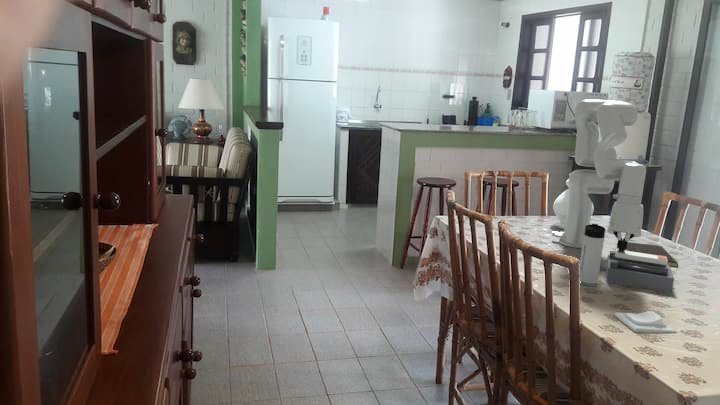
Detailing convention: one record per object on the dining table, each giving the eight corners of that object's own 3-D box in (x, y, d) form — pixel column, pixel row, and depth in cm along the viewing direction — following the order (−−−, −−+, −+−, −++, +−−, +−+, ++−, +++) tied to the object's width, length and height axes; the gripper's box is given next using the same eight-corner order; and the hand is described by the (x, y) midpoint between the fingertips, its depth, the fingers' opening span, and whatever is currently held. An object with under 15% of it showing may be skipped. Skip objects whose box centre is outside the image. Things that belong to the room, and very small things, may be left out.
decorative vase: (547, 220, 279) (554, 170, 274) (585, 224, 277) (593, 173, 271) (554, 230, 262) (561, 176, 256) (595, 233, 260) (603, 179, 254)
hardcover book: (632, 262, 221) (633, 257, 221) (620, 246, 243) (621, 241, 242) (677, 268, 218) (678, 262, 217) (661, 251, 239) (662, 245, 239)
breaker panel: (606, 281, 196) (609, 262, 195) (605, 268, 211) (608, 250, 209) (671, 292, 189) (675, 272, 187) (666, 278, 203) (669, 259, 202)
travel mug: (596, 281, 196) (605, 224, 191) (597, 287, 190) (606, 229, 185) (577, 278, 198) (585, 222, 193) (577, 284, 192) (586, 226, 187)
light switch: (680, 323, 157) (637, 320, 156) (677, 337, 158) (633, 334, 157) (657, 307, 168) (616, 304, 166) (653, 320, 169) (613, 317, 167)
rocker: (615, 257, 199) (616, 252, 198) (615, 253, 203) (615, 248, 203) (666, 265, 193) (667, 259, 192) (665, 261, 197) (666, 256, 197)
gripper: (605, 198, 195) (598, 250, 199) (654, 204, 190) (645, 257, 194) (605, 194, 202) (598, 244, 206) (652, 200, 197) (643, 251, 200)
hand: (621, 250), depth 200 cm, fingers closed
